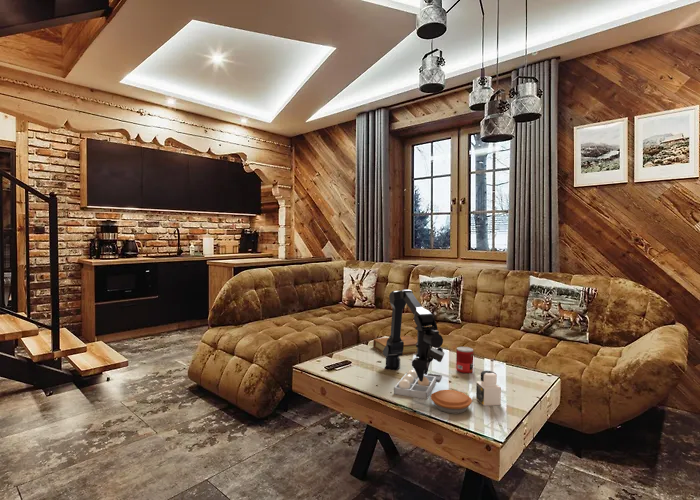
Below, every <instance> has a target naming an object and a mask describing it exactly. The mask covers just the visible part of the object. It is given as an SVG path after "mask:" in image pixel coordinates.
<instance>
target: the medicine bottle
mask: <svg viewBox="0 0 700 500" xmlns="http://www.w3.org/2000/svg"><path fill="white" fill-rule="evenodd" d="M497 378H498V375H497V373H496V372H495V371H491V370H482V371H481V372H480V381H479V380H478V381H476V382H475V383H476V385H475V386H476V389H475V390H476V391H475V394H476V395H475V397H476V400H477V401H478V402H479V403H480V404H481V406H482V405H483V406H484V407H485V406H486V407H488V406H489V407H490V406H501V404H502V399H501V398H502V393H501V392H502V388H501V386H499V385H498V384H497Z"/></svg>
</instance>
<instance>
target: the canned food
mask: <svg viewBox="0 0 700 500" xmlns="http://www.w3.org/2000/svg"><path fill="white" fill-rule="evenodd" d="M455 356H456V358H455V362H456V363H455V368H456V371H457V372H458V373H461V374H462V373H463V374H470V373H473V371H474V349H473V348H472V347H469V346H458V347H456V355H455Z"/></svg>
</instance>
